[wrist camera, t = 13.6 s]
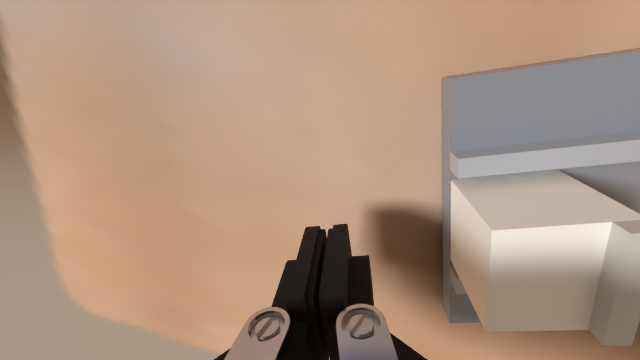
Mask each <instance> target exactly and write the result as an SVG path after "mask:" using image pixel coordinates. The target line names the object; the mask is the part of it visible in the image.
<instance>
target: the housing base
mask: <svg viewBox="0 0 640 360" xmlns="http://www.w3.org/2000/svg"><path fill="white" fill-rule="evenodd" d="M556 169H557V170H559V171H561V172H563V173H565V174H567V175H569V176H570V177H572V178H574V179H576V180H578V181H580V182H582V183H583V184H585V185H587V186H589V187H591V188H593V189H595V190H596V191H598V192H600V193H602V194H604V195H606V196H608V197H609V198H611V199H613V200H615V201H617V202H619V203H620V204H622V205H624V206H626V207H628V208H630V209H632V210H633V211H635V212H637V213H639V214H640V48H637V49H631V50H624V51H617V52H610V53H604V54H597V55H590V56H583V57H577V58H570V59H563V60H556V61H550V62H543V63H536V64H529V65H523V66H516V67H509V68H502V69H496V70H489V71H482V72H475V73H468V74H462V75H455V76H448V77H442V199H443V306H444V309H445V312H446V314H447V317H448V320H449V323H462V322H480V319H479V317H478V315H477V313H476V311H475V309H474V307H473V305H472V303H471V301H470V299H469V297H468V295H467V293H466V291H465V288H464V286H463V284H462V282H461V280H460V278H459V276H458V274H457V272H456V270H455V268H454V266H453V264H452V262H451V260H450V258H451V180H453V179H464V178H474V177H484V176H494V175H505V174H515V173H525V172H535V171H546V170H556Z"/></svg>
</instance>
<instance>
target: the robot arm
mask: <svg viewBox="0 0 640 360" xmlns="http://www.w3.org/2000/svg"><path fill="white" fill-rule="evenodd" d="M329 356H330V360H427V359H425V358H424V357H423V356H421V355H420V354H419V353H417V352H416V351H414V350H413V349H412V348H410V347H409V346H408V345H406V344H405V343H403V342H402V341H401V340H399V339H398V338H397V337H395V336H394V335H392V334H391V333H390V332H389V329H388V326H387V322H386V319H385V317H384V315H383V313H382V312H381V311H380V310H379V309H377V308H376V307H374V300H373V289H372V278H371V269H370V260H369V255H367V256H352V254H351V247H350V239H349V232H348V225H347V224H339V225H333V229H329V230H328V236H327V237H326V231H325V229H320V226H314V227H306V228H305V231H304V235H303V238H302V242H301V245H300V249H299V252H298V256H297V259H296V260H288V261H287V263H286V265H285V268H284V271H283V274H282V277H281V280H280V283H279V286H278V289H277V292H276V295H275V298H274V301H273V304H272V307H268V308H265V309H262V310H260V311H258V312H256V313H255V314H253V315H252V316H251V317H250V318H249V319H248V320H247V322H246V323H245V325H244V326H243V328H242V330H241V332H240V333H239V335H238V337H237V338H236V340H235V342H234V344H233V345H232V347H231V348H230V349H229V350H227V351H226V352H224V353H223V354H222V355H220V356H219V357H217V358H216V359H214V360H329Z"/></svg>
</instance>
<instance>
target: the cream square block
mask: <svg viewBox="0 0 640 360" xmlns="http://www.w3.org/2000/svg"><path fill="white" fill-rule="evenodd" d="M450 260H451V262H452V264H453V266H454V268H455V270H456V272H457V274H458V276H459V278H460V280H461V282H462V284H463V286H464V288H465V291H466V293H467V295H468V297H469V299H470V301H471V303H472V305H473V307H474V309H475V311H476V313H477V315H478V317H479V319H480V322H481V324H482V326H483V328H484V330H485V332H518V331H562V330H589V332H590V333H591V334H592V335H593V336H594V337H595V339H596V340H597V341H598V342H599V343H600V344H601V345H602V346H632V345H633V342H634V338H635V335H636V332H637V328H638V325H639V322H640V214H639V213H637V212H635V211H633V210H632V209H630V208H628V207H626V206H624V205H622V204H620V203H619V202H617V201H615V200H613V199H611V198H609V197H608V196H606V195H604V194H602V193H600V192H598V191H596V190H595V189H593V188H591V187H589V186H587V185H585V184H583V183H582V182H580V181H578V180H576V179H574V178H572V177H570V176H569V175H567V174H565V173H563V172H561V171H559V170H557V169H556V170H546V171H535V172H525V173H515V174H505V175H494V176H484V177H474V178H464V179H453V180H451V258H450Z"/></svg>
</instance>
